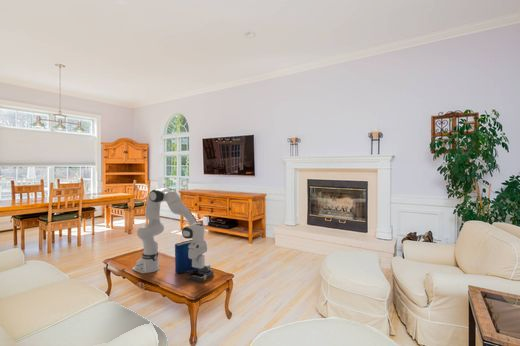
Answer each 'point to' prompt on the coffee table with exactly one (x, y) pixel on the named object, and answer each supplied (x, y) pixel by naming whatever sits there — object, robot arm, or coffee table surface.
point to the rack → (201, 274)
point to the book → (183, 258)
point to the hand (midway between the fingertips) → (198, 261)
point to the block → (199, 262)
